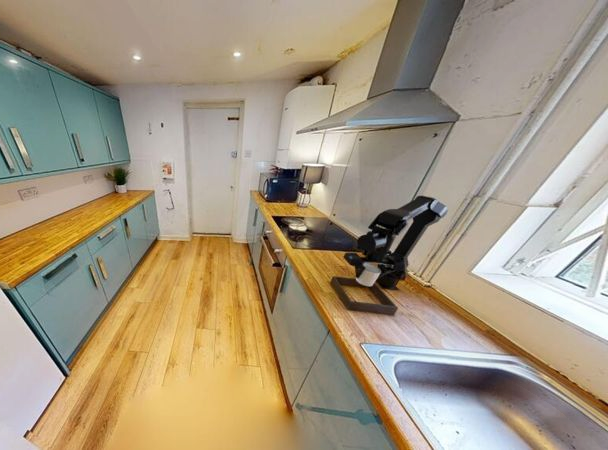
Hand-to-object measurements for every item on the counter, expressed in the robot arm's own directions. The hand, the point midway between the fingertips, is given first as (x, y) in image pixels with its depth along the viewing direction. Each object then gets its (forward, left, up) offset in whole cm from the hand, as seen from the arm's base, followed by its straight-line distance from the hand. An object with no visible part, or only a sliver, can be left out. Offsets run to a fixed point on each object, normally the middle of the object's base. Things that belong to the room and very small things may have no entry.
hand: (365, 278), depth 79 cm
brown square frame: (0, +1, -10) cm, 10 cm away
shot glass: (0, 0, -2) cm, 2 cm away
